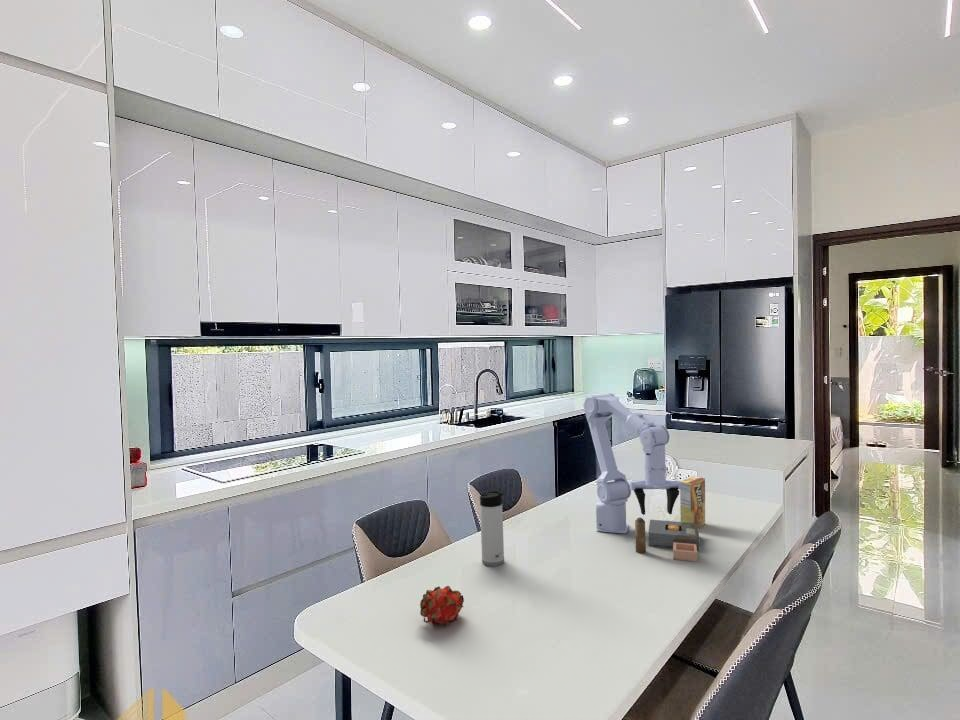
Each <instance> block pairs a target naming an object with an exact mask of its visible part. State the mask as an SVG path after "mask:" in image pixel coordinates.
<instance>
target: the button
mask: <svg viewBox="0 0 960 720" xmlns="http://www.w3.org/2000/svg"><path fill="white" fill-rule="evenodd" d="M668 530H674V531H679V527H678V526H676V525H669V526H668Z"/></svg>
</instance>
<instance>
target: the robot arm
mask: <svg viewBox="0 0 960 720" xmlns="http://www.w3.org/2000/svg"><path fill="white" fill-rule="evenodd" d="M583 409H584V414H585V417H586V421H587V423H588V428H589V430H590V435H591V438H592V442H593V446H594V449H595V455H596V457H597V461H598V462H597V463H598V466H599V470H600V472H601V473H600V475H599V476H598V478H597V479H596V486H597V487H596V493H597V497H598V499H599V500H597V502H596V506H595V507H596V508H595V515H596V517H595V518H596V521H595V523H596V529H595V530H596V532H603V533H605V532H606V533H613V534H627V533H628V530H629V526H630V525H629V524H628V523H627V502H628V499H630V497H631V495H632V491H633V492H634V494H635V497H636V499H637V501H638V505H639V507H640V509H639V510H640V514H641V515H646V505H645V504H646V493H645V490H666V491H665V492H666V502H667V504H666V511H667V513H668V514H669V515H672V514H673V510H674V506H675V502H676V501H677V499H678V497H679V496H680V489H682V483H681V482H680V481H681V480H667V473H666V469H667V468H666V467H667V466H666V445H668V443H669V441H670V433H669V430H668V429H667V428H666V427H665V425H661V424H660V425H659V424H654V422H653V421H650V420H649V419H647V418H646V417H645V416H644V414H643V413H641V412H635V413H634V412H632V411H631V410H630V409H628V407H626V406H625V405H624V404H623V403H622V402H621V401H620V399H619V397H618V396H616V395H615V394H614V393H611V392H609V393H605V394H593V395H592V394H589V395H588V396H586V397H585V399H584V402H583ZM613 415H614V416H615V417H617V418H619V419H620V420H621V421H623V422H625V423H626V424H625V426H626V428H627V430H628V431H629V430H630V431H631V432H632V433H633V434H635V435H636V436H637V437H638V438H639V440H640V443H641V445H642V451H643V453H644V472H645V474H644V477H645V478H644V479H645V480H639V481H628V480H627V477H626V475H625V474H624V472H623V473H622V472H621V471H619V470H618V465H617V462H616V459H615V456H614V451H613V447H612V444H611V440H610V436H609V433H608V430H607V426H606V423H607V421H608V420H610V418H611V417H612V416H613ZM609 481H610V482H609Z"/></svg>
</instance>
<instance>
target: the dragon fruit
mask: <svg viewBox="0 0 960 720" xmlns="http://www.w3.org/2000/svg"><path fill="white" fill-rule="evenodd" d="M464 598H465V597H464V595H463V594H462V593H461V592H460V591H459V590H452V587H450V585H446V586H445V587H443V588H441V586H440V585H439V586H437V587H436V586H435V587H434V589H433V590H432V589H426V591H425V593H424V594H422V598H421V600H420V601H419V602H420V603H419V607H420V608H419V609H420V610H419V611H420V612H419V614H420V616H422V617H423V622H424V623H426V624H432V625H433V626H435V625H437V624H441V625H442V626H445V627H448V626H449V624H450V621H456V620H457V618H458V617H459V613H460V612H461V610H462V608H463V607H464V605H463V604H464V603H465V599H464ZM426 619H427V620H426Z"/></svg>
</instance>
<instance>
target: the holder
mask: <svg viewBox="0 0 960 720" xmlns="http://www.w3.org/2000/svg"><path fill="white" fill-rule="evenodd" d="M672 555H673V557H672V558H673V560H677V561H688V562H697V563H698V551H697V546H696V544H687V543H676V542H673V548H672Z"/></svg>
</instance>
